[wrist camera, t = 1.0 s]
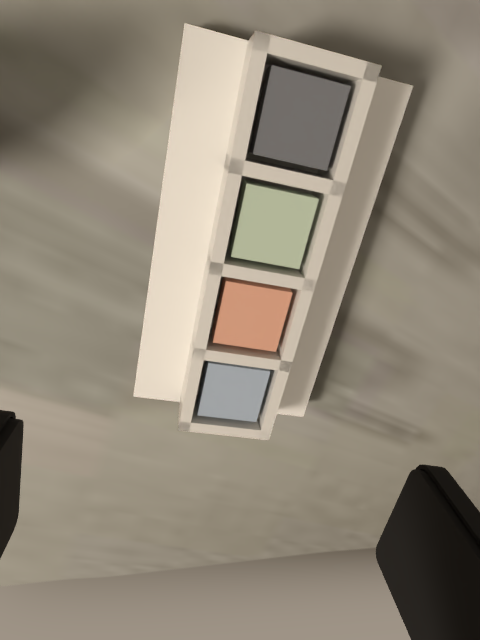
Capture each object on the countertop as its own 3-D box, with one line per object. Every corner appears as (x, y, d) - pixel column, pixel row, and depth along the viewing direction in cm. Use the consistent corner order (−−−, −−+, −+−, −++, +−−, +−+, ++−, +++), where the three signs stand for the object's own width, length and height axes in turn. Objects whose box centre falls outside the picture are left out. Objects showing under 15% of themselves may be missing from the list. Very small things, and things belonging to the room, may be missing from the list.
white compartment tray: (185, 30, 26) (183, 7, 20) (399, 88, 28) (444, 80, 23) (136, 382, 35) (126, 426, 30) (297, 402, 38) (313, 446, 33)
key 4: (207, 350, 31) (208, 363, 29) (266, 358, 32) (270, 371, 30) (197, 400, 33) (197, 415, 31) (253, 407, 33) (256, 422, 32)
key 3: (224, 271, 28) (225, 281, 27) (287, 283, 29) (292, 292, 28) (211, 330, 30) (212, 342, 29) (271, 339, 31) (275, 351, 29)
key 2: (243, 179, 26) (246, 183, 24) (311, 194, 27) (319, 199, 25) (228, 248, 28) (231, 256, 26) (293, 260, 29) (299, 269, 27)
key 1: (266, 68, 24) (271, 65, 22) (340, 88, 25) (350, 85, 23) (249, 152, 26) (252, 154, 24) (318, 167, 26) (326, 171, 25)
